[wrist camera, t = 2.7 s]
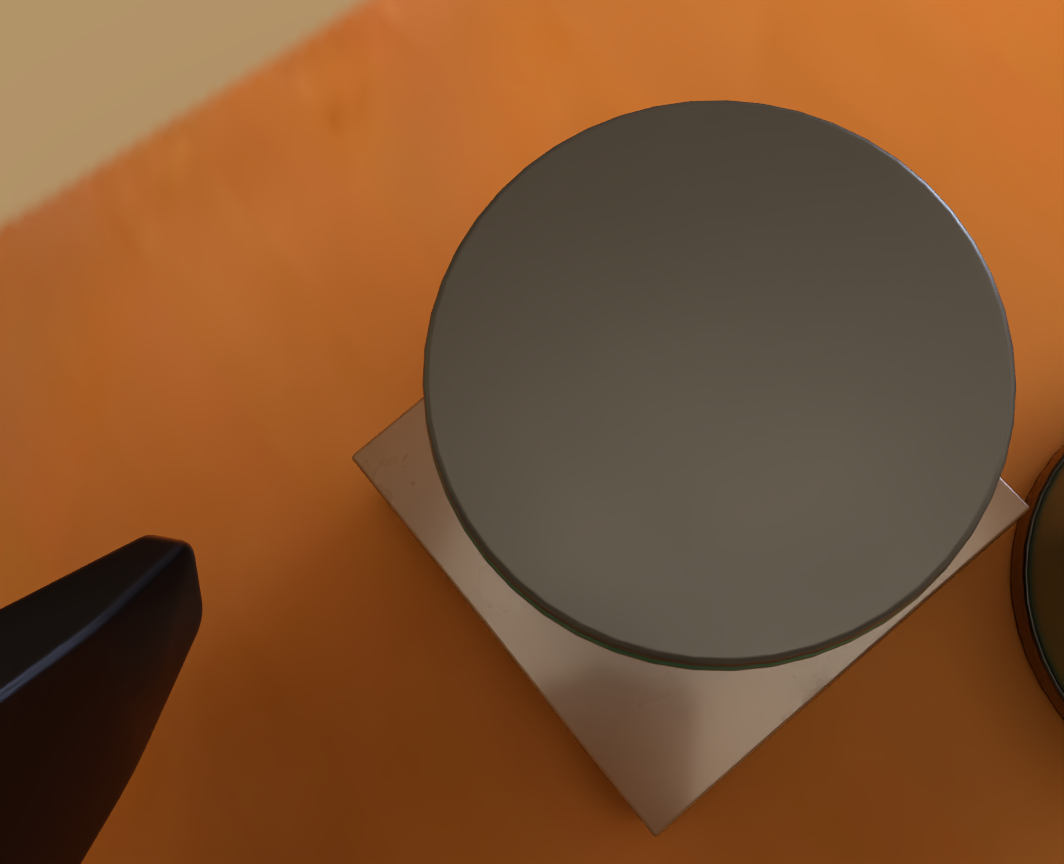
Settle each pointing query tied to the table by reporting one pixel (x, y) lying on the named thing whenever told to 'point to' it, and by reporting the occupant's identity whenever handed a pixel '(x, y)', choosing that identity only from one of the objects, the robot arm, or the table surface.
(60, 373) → the table surface
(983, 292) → the cap
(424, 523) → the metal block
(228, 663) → the table surface
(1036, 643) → the green cylinder
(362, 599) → the table surface
